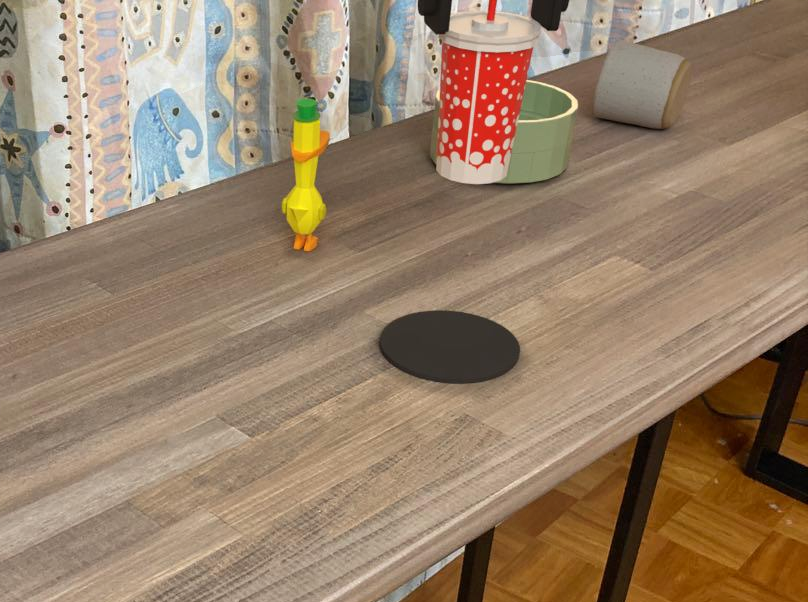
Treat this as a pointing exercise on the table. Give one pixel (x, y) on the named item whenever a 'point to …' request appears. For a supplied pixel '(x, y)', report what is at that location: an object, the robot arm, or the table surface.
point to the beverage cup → (482, 92)
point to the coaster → (449, 346)
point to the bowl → (535, 134)
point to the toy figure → (306, 175)
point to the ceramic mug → (642, 85)
